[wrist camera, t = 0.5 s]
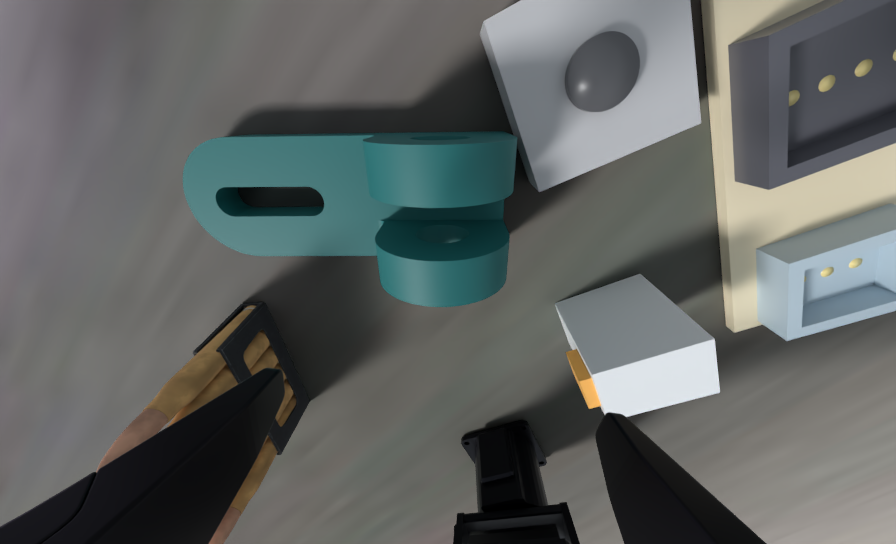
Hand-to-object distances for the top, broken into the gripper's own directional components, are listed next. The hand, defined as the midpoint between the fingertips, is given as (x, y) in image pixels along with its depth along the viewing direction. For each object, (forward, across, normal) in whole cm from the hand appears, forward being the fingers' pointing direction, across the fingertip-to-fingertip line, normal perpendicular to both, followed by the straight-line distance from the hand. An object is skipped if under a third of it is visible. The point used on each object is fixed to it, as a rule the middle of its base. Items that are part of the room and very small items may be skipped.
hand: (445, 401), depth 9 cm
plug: (+14, -12, +4) cm, 18 cm away
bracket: (+14, +6, -2) cm, 15 cm away
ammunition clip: (+14, +12, +12) cm, 22 cm away
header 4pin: (+13, -17, -12) cm, 25 cm away
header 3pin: (+14, -23, -2) cm, 27 cm away
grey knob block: (+13, -5, -10) cm, 17 cm away
